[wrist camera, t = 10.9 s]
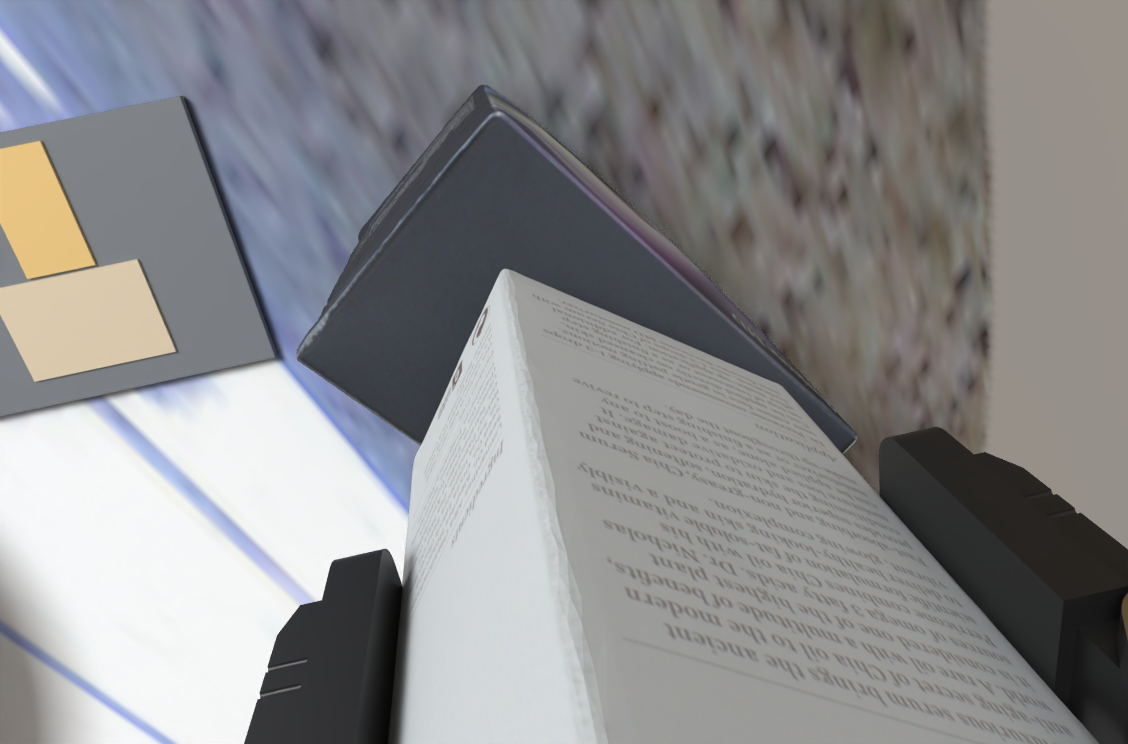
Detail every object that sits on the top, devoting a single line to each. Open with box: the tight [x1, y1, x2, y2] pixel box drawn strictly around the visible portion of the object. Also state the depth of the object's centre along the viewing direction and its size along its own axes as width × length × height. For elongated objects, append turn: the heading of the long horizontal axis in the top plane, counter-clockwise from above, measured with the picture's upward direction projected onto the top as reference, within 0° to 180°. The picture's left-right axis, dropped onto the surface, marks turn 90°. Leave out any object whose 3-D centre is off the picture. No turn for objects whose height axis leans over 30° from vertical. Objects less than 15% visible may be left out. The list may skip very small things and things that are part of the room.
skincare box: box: [388, 269, 1099, 744], centre depth 9 cm, size 6×4×12 cm
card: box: [0, 96, 277, 416], centre depth 23 cm, size 8×10×1 cm
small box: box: [296, 85, 858, 454], centre depth 20 cm, size 11×6×10 cm, turn 48°
